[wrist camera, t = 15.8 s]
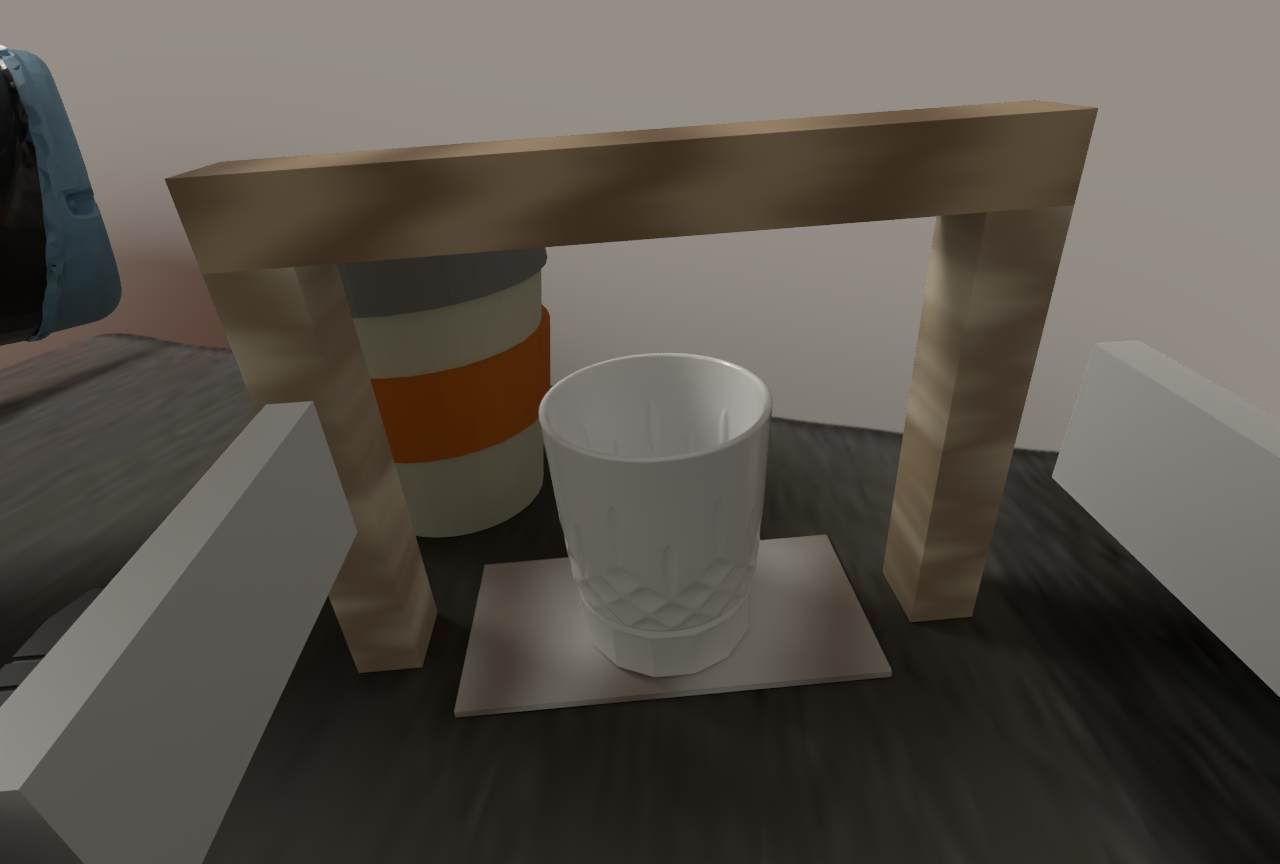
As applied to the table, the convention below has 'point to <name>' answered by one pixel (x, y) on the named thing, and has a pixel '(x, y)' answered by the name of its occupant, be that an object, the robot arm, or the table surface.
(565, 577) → the bridge
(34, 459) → the table surface
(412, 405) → the reusable coffee cup
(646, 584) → the white cup
